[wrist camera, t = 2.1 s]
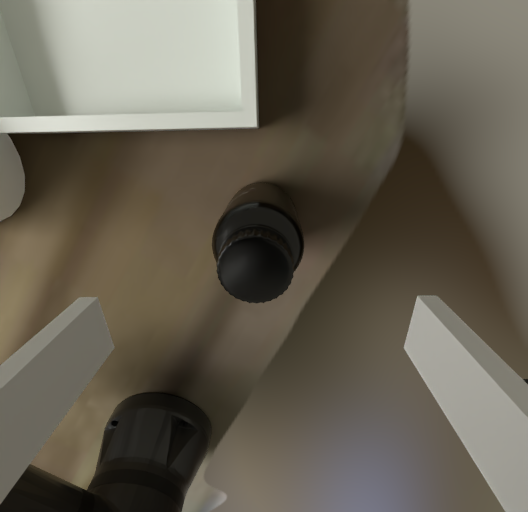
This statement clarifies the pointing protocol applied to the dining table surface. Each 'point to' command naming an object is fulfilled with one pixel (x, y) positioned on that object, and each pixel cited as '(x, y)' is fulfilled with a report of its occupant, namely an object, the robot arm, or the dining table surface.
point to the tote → (127, 65)
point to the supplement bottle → (258, 243)
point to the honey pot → (10, 177)
